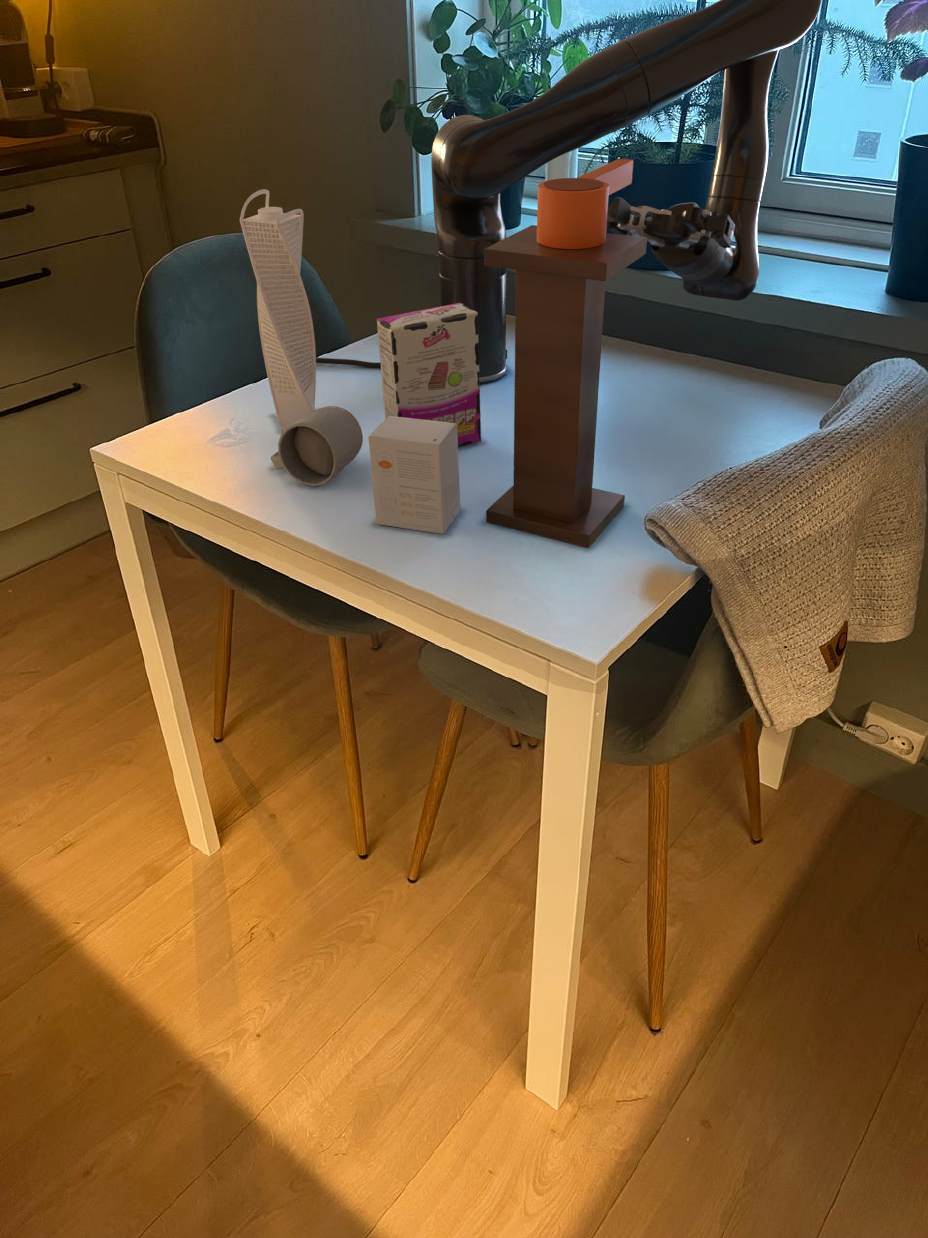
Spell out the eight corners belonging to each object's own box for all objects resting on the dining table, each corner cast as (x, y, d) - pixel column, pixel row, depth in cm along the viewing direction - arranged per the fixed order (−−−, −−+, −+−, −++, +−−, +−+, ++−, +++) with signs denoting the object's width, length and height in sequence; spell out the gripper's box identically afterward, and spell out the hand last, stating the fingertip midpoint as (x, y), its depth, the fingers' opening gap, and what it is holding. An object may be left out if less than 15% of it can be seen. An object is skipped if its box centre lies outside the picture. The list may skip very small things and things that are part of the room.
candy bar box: (463, 428, 124) (460, 300, 114) (482, 442, 120) (480, 311, 111) (384, 447, 120) (374, 316, 110) (401, 462, 116) (392, 328, 107)
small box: (461, 511, 106) (459, 422, 100) (444, 536, 101) (440, 444, 95) (394, 501, 108) (388, 413, 102) (374, 525, 104) (367, 434, 98)
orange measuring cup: (593, 208, 100) (596, 156, 97) (652, 214, 97) (656, 161, 94) (524, 244, 88) (525, 187, 85) (589, 252, 85) (592, 193, 83)
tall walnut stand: (526, 484, 111) (531, 224, 94) (624, 506, 106) (647, 237, 89) (485, 522, 104) (483, 248, 87) (588, 548, 99) (606, 263, 82)
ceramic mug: (369, 461, 116) (363, 401, 112) (339, 491, 110) (331, 428, 106) (292, 451, 120) (284, 392, 115) (259, 479, 113) (248, 418, 109)
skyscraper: (265, 413, 129) (232, 190, 113) (319, 405, 131) (295, 184, 115) (274, 436, 123) (240, 203, 107) (331, 428, 125) (306, 198, 109)
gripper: (642, 208, 122) (598, 169, 107) (753, 216, 116) (723, 176, 101) (629, 269, 123) (585, 239, 109) (738, 280, 117) (707, 250, 103)
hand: (651, 209), depth 105 cm, fingers open, 8 cm apart
